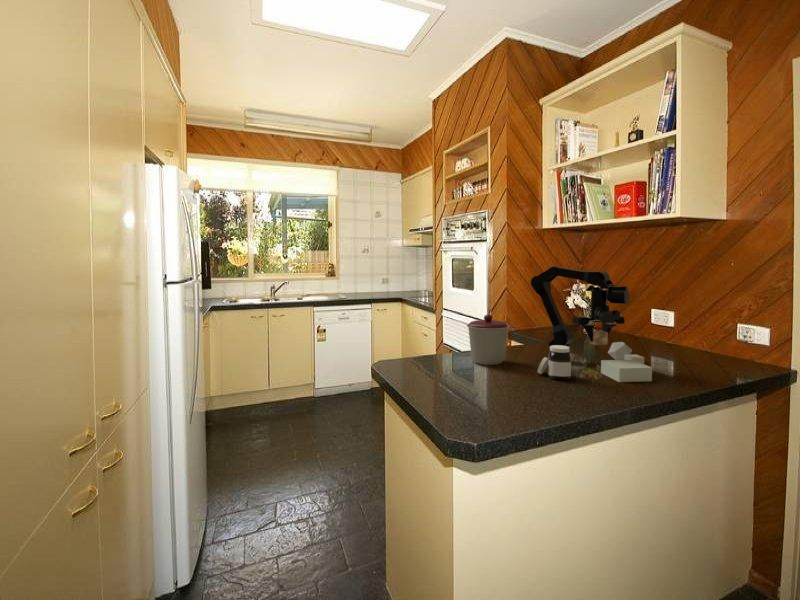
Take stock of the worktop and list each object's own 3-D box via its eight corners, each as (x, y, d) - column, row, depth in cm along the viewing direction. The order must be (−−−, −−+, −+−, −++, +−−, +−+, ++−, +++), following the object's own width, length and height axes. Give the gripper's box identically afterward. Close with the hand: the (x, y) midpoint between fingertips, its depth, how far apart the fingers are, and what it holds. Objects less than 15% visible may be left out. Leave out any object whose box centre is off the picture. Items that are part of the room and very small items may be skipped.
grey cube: (631, 369, 158) (632, 357, 157) (624, 366, 163) (624, 354, 162) (643, 369, 158) (644, 357, 158) (635, 366, 163) (636, 354, 163)
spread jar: (572, 381, 143) (573, 350, 142) (540, 380, 145) (540, 349, 144) (566, 372, 155) (566, 343, 154) (535, 371, 157) (536, 342, 156)
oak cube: (595, 345, 157) (595, 332, 157) (588, 342, 162) (588, 330, 162) (607, 344, 157) (607, 332, 157) (600, 342, 162) (600, 330, 162)
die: (632, 364, 168) (638, 344, 171) (614, 355, 167) (620, 335, 171) (618, 367, 175) (624, 348, 179) (602, 357, 175) (608, 338, 178)
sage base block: (619, 382, 142) (619, 368, 141) (600, 372, 154) (601, 360, 153) (651, 381, 142) (652, 367, 142) (630, 372, 154) (631, 359, 154)
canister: (458, 362, 173) (458, 314, 171) (483, 355, 185) (483, 310, 183) (493, 370, 159) (493, 318, 157) (517, 362, 171) (518, 314, 169)
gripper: (586, 305, 150) (585, 345, 151) (634, 304, 151) (633, 344, 152) (572, 302, 161) (571, 340, 162) (617, 301, 162) (615, 339, 163)
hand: (597, 341), depth 160 cm, fingers closed on oak cube, 5 cm apart
